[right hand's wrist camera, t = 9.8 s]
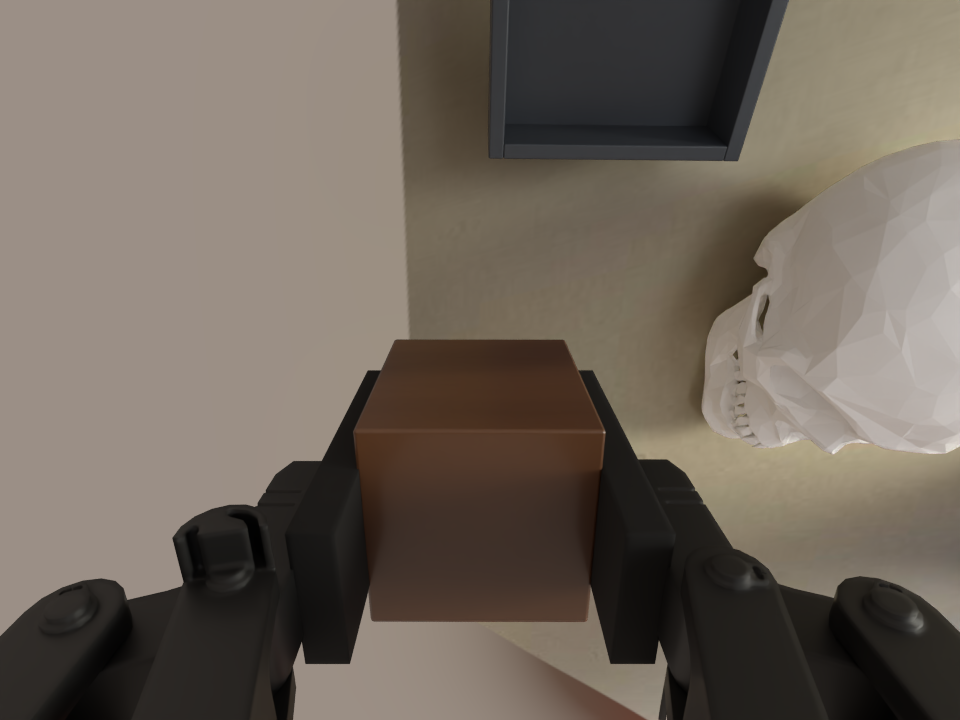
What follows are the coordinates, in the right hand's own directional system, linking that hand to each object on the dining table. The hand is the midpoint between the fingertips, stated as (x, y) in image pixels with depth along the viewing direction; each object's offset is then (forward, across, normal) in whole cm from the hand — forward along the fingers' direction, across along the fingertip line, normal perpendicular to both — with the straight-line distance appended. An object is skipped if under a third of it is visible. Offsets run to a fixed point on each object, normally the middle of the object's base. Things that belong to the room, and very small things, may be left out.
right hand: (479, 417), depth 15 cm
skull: (+25, +23, -3) cm, 34 cm away
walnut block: (0, 0, 0) cm, 0 cm away
